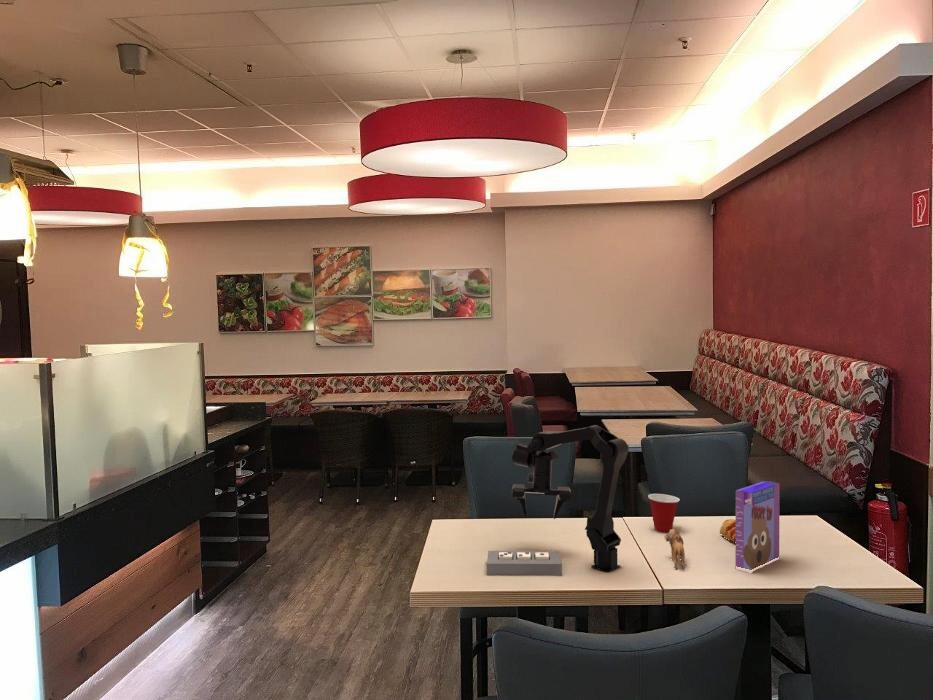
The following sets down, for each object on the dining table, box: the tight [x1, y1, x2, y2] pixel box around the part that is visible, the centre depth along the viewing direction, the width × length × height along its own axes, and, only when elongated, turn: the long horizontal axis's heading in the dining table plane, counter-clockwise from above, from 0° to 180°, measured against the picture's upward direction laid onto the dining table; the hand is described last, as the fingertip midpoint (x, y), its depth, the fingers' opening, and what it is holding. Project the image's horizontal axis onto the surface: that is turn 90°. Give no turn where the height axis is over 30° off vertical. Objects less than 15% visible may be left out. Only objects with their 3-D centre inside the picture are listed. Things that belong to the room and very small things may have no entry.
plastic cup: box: [647, 493, 681, 533], centre depth 268 cm, size 11×11×12 cm
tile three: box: [499, 552, 512, 560], centre depth 232 cm, size 4×4×2 cm
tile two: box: [517, 552, 531, 560], centre depth 232 cm, size 4×4×2 cm
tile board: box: [486, 550, 563, 576], centre depth 232 cm, size 22×12×3 cm, turn 86°
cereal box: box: [735, 480, 781, 570], centre depth 231 cm, size 17×5×24 cm, turn 131°
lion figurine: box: [663, 528, 687, 571], centre depth 233 cm, size 15×5×9 cm, turn 0°
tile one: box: [535, 552, 549, 560], centre depth 231 cm, size 4×4×2 cm
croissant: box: [719, 518, 736, 543], centre depth 258 cm, size 21×10×8 cm, turn 172°
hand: (540, 517), depth 246 cm, fingers open, 9 cm apart
